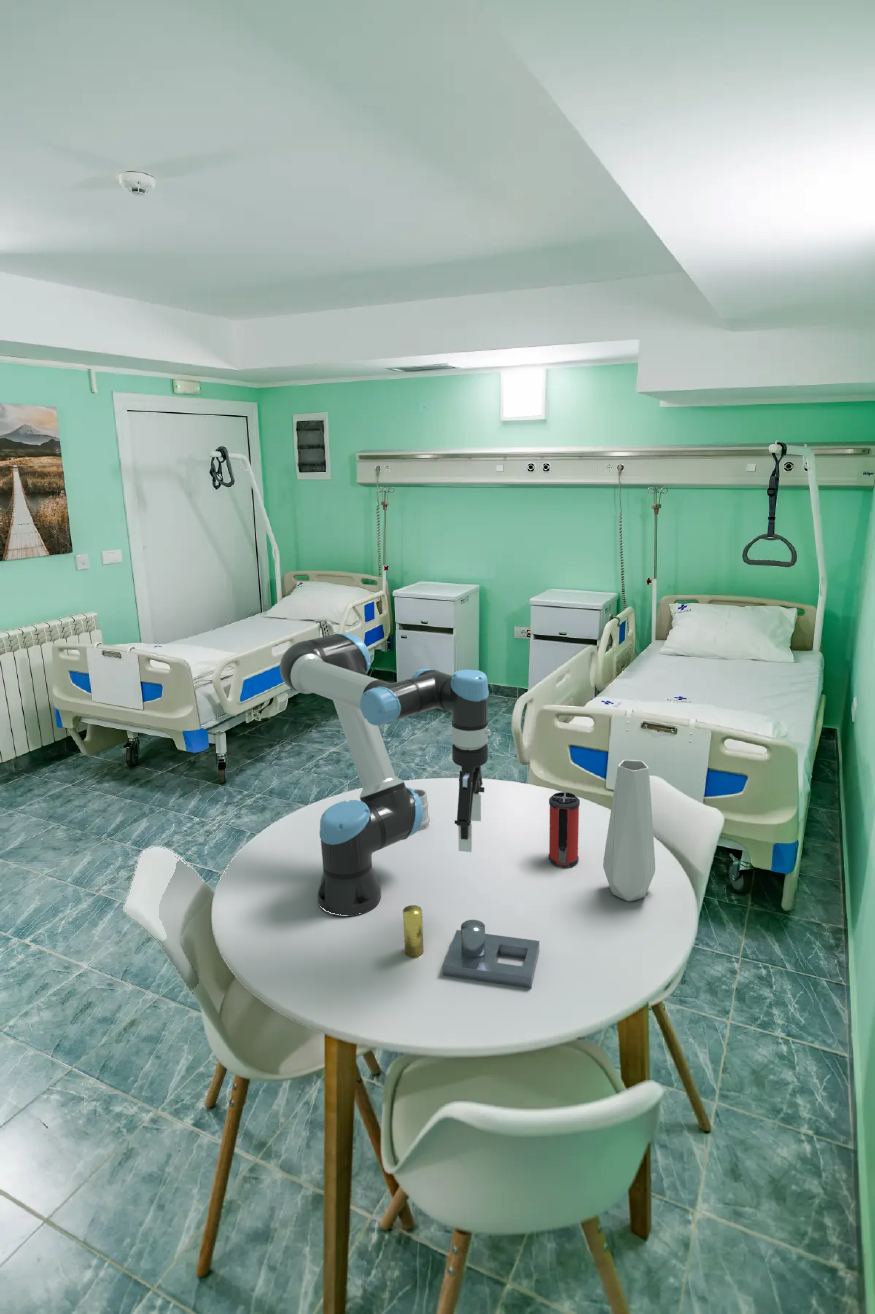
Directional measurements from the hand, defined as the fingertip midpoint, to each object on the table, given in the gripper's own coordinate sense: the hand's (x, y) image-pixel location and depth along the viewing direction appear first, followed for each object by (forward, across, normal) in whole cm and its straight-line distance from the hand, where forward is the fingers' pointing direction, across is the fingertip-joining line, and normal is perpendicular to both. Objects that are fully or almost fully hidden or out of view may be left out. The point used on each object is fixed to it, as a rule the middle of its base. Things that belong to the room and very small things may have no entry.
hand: (470, 835), depth 164 cm
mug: (+24, +46, +25) cm, 58 cm away
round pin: (+23, -11, +10) cm, 27 cm away
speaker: (+23, +32, -20) cm, 44 cm away
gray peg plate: (+22, -12, -6) cm, 26 cm away
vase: (+23, +19, -35) cm, 46 cm away
